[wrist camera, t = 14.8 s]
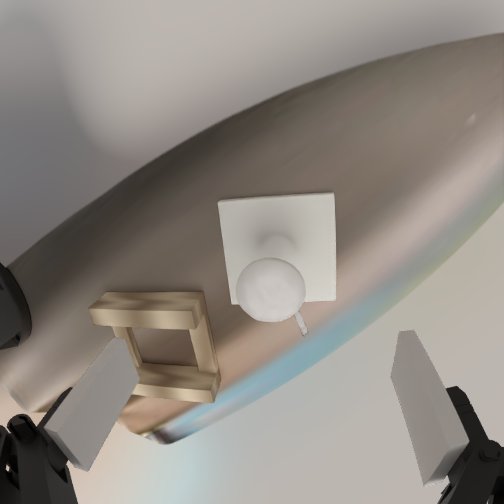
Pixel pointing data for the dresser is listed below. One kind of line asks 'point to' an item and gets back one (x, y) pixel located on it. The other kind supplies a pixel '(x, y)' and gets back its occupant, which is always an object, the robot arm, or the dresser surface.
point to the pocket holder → (164, 317)
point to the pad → (290, 224)
